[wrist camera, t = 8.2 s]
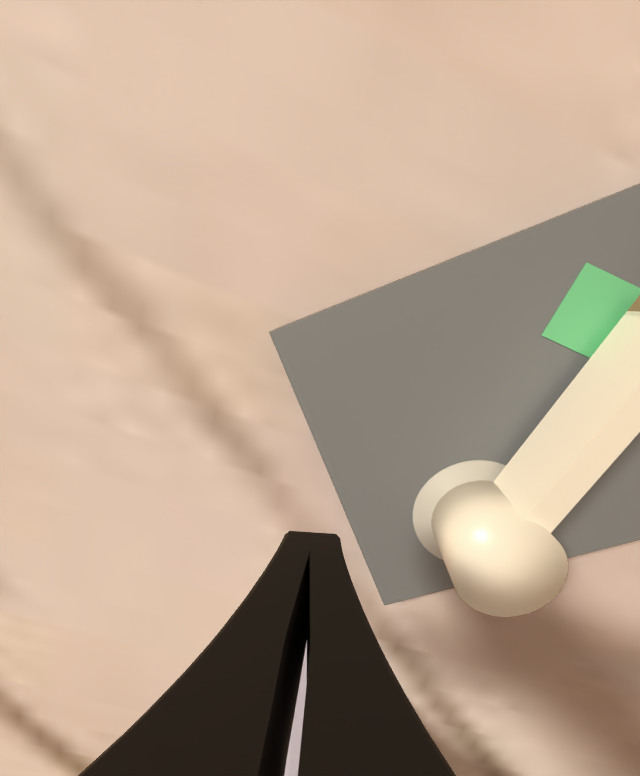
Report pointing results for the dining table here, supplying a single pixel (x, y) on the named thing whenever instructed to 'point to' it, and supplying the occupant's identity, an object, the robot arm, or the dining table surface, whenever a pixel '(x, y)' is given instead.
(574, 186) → the dining table surface
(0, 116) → the dining table surface
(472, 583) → the brown-capped cream post
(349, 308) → the dial board
